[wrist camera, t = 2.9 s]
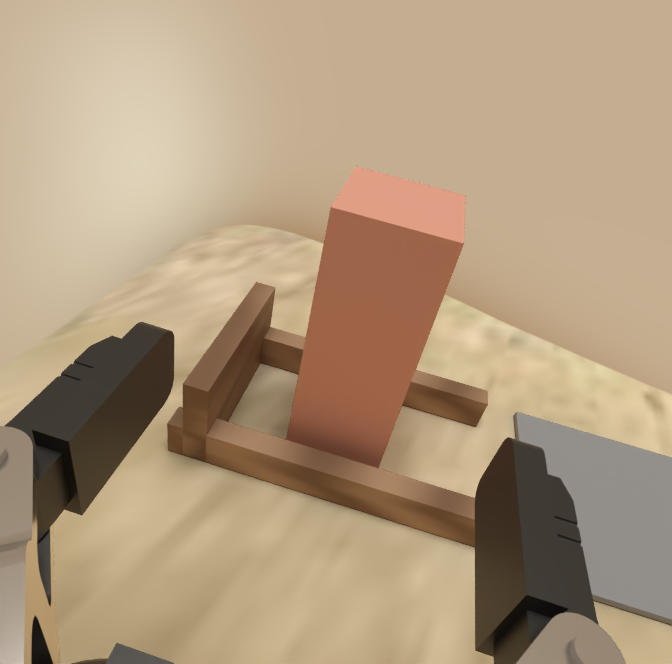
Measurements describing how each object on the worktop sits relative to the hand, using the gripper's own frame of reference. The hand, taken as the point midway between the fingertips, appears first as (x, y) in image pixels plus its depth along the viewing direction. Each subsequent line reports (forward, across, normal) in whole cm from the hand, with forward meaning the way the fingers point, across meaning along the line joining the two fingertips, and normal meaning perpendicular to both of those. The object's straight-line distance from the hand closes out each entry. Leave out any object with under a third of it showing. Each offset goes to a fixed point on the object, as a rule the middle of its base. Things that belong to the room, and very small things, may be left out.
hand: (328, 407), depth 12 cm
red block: (+11, 0, +13) cm, 17 cm away
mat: (+11, -16, +13) cm, 24 cm away
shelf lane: (+11, 0, +13) cm, 17 cm away
